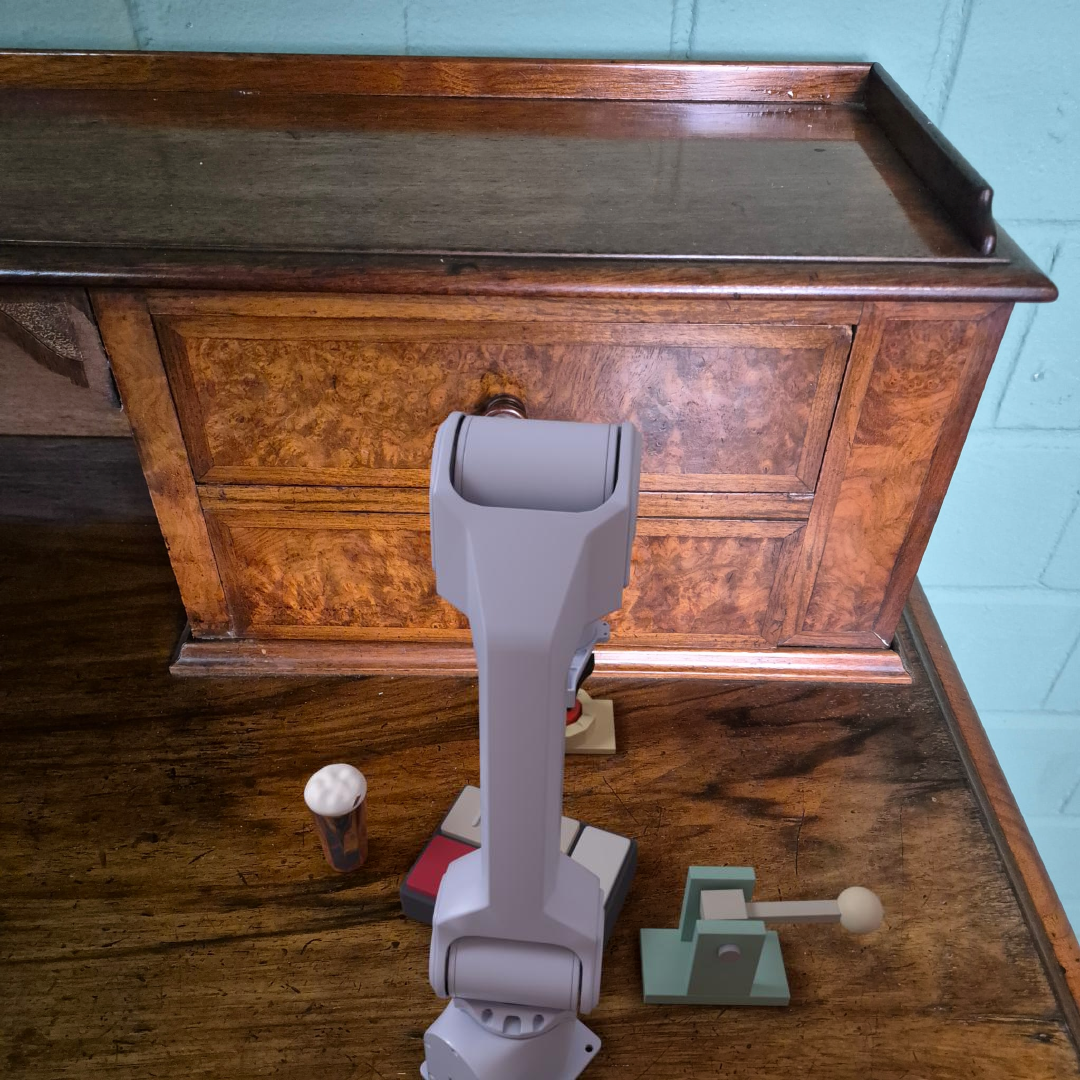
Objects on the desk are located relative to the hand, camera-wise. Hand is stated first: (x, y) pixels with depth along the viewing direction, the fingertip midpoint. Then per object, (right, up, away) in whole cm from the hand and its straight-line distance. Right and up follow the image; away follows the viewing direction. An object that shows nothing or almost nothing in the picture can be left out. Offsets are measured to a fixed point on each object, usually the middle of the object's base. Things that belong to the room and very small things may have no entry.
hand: (559, 705), depth 85 cm
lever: (+15, -11, -20) cm, 28 cm away
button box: (0, -2, +2) cm, 3 cm away
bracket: (+11, -16, -17) cm, 25 cm away
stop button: (0, -1, +1) cm, 2 cm away
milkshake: (-17, -11, -10) cm, 22 cm away
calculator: (-3, -12, -12) cm, 17 cm away
